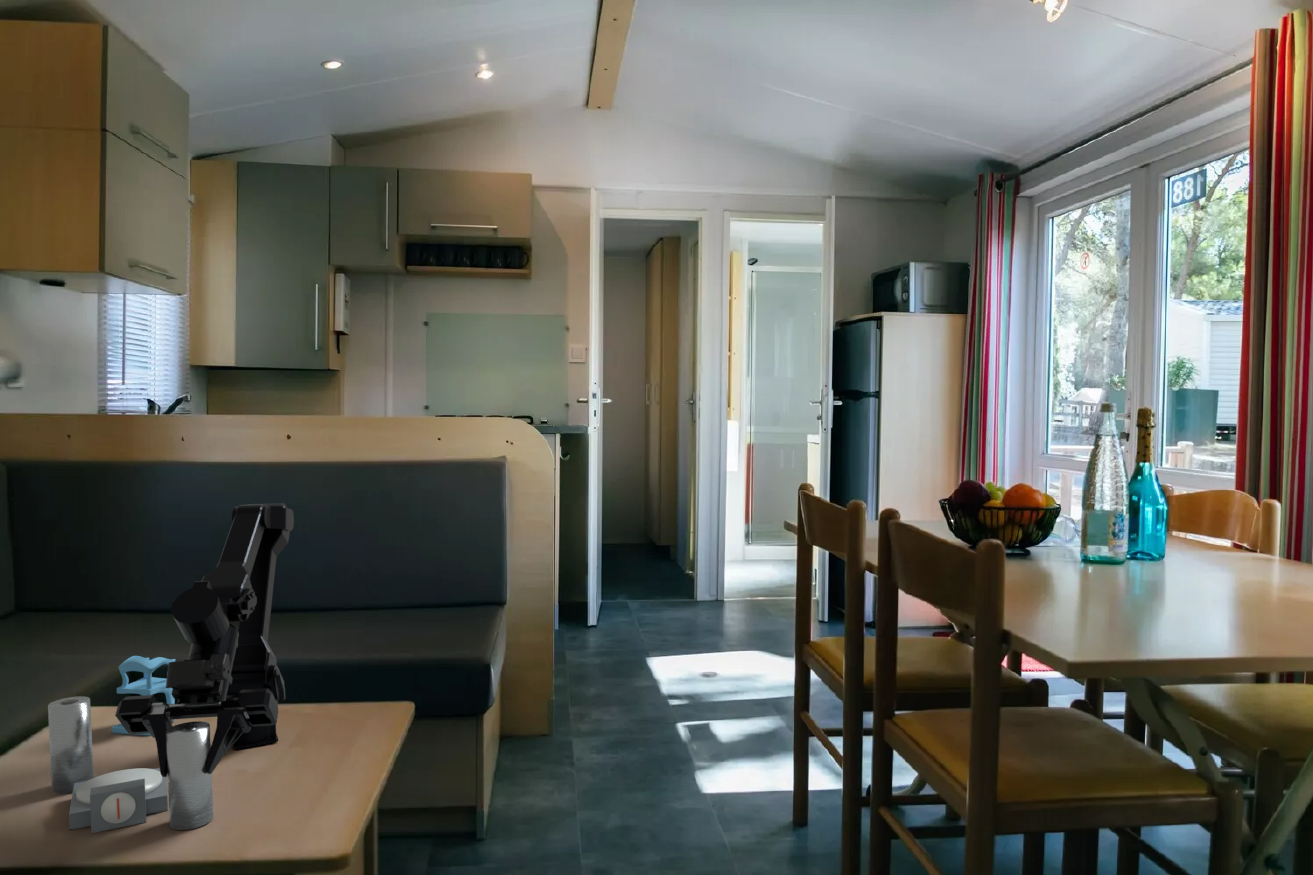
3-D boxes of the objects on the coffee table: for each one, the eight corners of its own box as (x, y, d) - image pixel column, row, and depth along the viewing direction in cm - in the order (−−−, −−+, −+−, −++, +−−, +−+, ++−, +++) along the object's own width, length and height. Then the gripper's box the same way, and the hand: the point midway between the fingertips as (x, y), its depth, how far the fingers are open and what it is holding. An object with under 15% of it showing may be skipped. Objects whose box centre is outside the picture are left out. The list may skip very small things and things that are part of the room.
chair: (187, 718, 160) (185, 648, 159) (150, 735, 151) (148, 661, 151) (148, 716, 161) (146, 646, 161) (110, 732, 153) (107, 659, 153)
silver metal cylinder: (212, 808, 124) (208, 718, 123) (214, 823, 119) (210, 730, 119) (169, 817, 121) (165, 725, 121) (170, 833, 117) (166, 738, 116)
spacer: (94, 776, 135) (90, 693, 135) (93, 789, 131) (89, 703, 130) (53, 783, 133) (49, 699, 132) (50, 797, 129) (46, 710, 128)
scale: (166, 780, 134) (164, 747, 133) (168, 818, 121) (166, 782, 121) (75, 797, 128) (73, 762, 128) (67, 839, 116) (66, 801, 116)
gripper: (117, 636, 122) (83, 752, 111) (269, 628, 124) (249, 741, 114) (144, 677, 130) (114, 789, 120) (286, 669, 133) (268, 778, 122)
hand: (185, 774), depth 119 cm, fingers closed on silver metal cylinder, 5 cm apart
